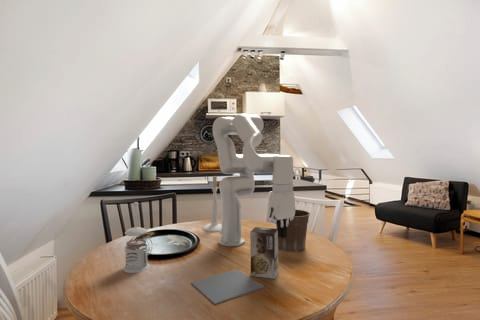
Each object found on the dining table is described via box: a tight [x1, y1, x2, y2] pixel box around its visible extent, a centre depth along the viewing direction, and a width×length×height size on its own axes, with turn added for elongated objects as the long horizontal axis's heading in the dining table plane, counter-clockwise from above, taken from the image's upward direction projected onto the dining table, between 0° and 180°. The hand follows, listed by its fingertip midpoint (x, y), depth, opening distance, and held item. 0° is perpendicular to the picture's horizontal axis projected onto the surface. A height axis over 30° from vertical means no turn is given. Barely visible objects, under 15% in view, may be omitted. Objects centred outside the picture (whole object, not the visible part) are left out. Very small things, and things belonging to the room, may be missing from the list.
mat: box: [190, 269, 265, 306], centre depth 97 cm, size 16×18×1 cm
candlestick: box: [203, 175, 222, 233], centre depth 163 cm, size 13×13×30 cm
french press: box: [122, 201, 153, 274], centre depth 110 cm, size 10×12×25 cm
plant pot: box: [276, 208, 311, 252], centre depth 133 cm, size 16×16×16 cm
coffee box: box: [249, 226, 279, 280], centre depth 105 cm, size 9×6×16 cm
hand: (282, 236), depth 110 cm, fingers closed
